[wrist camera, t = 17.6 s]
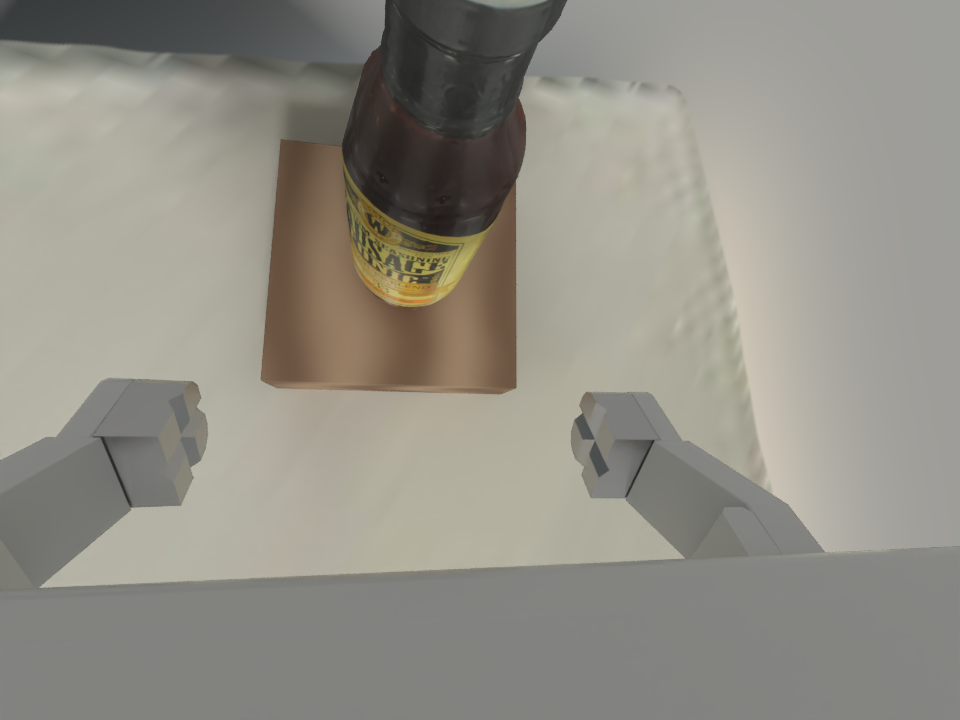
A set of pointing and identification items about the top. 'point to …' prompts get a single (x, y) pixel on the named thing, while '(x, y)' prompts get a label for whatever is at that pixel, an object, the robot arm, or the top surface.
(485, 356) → the block
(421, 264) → the sauce bottle
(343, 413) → the top surface
